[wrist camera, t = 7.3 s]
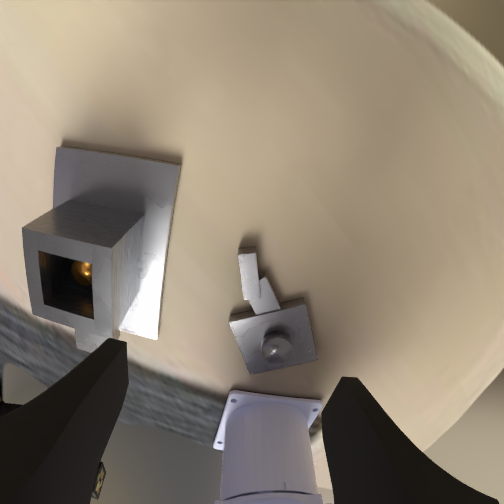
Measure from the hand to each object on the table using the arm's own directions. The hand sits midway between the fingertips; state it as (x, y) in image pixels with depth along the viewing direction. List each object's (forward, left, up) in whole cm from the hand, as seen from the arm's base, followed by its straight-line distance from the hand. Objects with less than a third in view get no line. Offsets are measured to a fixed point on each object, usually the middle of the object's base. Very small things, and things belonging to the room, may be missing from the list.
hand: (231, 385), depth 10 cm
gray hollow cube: (-1, +8, -10) cm, 13 cm away
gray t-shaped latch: (-3, -3, -10) cm, 11 cm away
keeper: (-1, +8, -10) cm, 13 cm away
